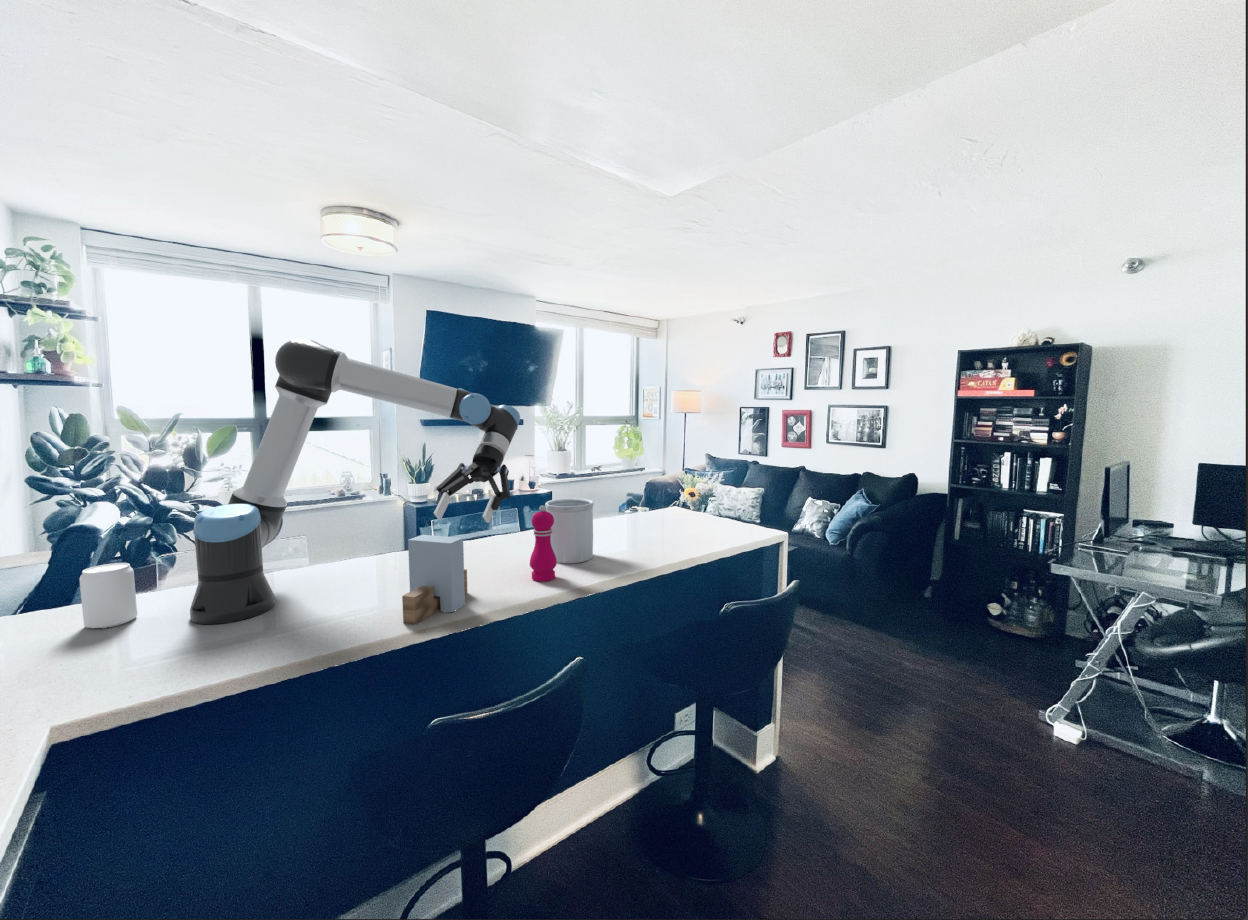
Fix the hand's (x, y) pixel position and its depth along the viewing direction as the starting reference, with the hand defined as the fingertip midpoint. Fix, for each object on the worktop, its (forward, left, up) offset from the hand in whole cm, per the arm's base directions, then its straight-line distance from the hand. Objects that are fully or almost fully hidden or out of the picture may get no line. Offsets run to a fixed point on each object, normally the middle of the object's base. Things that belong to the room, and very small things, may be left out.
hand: (461, 518), depth 128 cm
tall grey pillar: (-7, -8, -19) cm, 21 cm away
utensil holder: (+34, +18, -19) cm, 43 cm away
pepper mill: (+21, +2, -19) cm, 29 cm away
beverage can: (-71, +11, -19) cm, 74 cm away
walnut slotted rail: (-7, -8, -19) cm, 21 cm away
